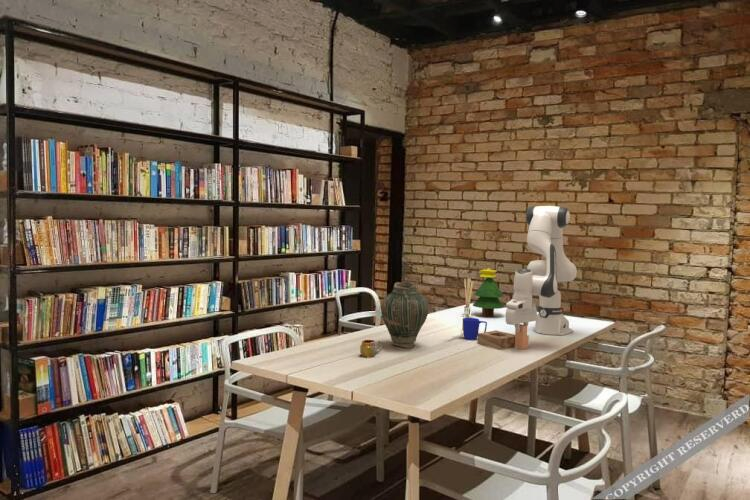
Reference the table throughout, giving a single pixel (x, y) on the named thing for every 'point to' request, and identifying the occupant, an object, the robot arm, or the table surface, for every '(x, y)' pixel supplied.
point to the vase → (404, 313)
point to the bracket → (521, 337)
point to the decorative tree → (488, 294)
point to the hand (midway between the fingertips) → (521, 332)
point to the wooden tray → (496, 339)
